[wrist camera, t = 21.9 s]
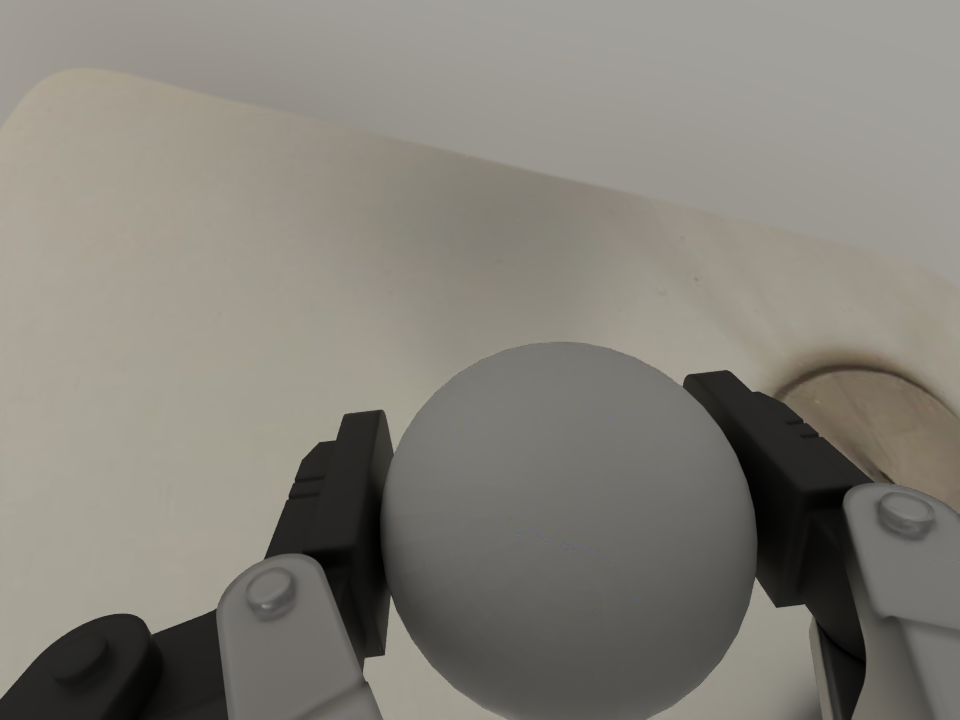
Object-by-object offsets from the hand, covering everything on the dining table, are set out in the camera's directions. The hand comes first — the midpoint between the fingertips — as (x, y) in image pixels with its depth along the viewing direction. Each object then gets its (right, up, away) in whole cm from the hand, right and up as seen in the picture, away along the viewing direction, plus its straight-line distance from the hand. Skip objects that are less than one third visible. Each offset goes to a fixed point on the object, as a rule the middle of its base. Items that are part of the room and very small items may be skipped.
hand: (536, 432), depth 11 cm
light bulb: (0, -4, +5) cm, 6 cm away
